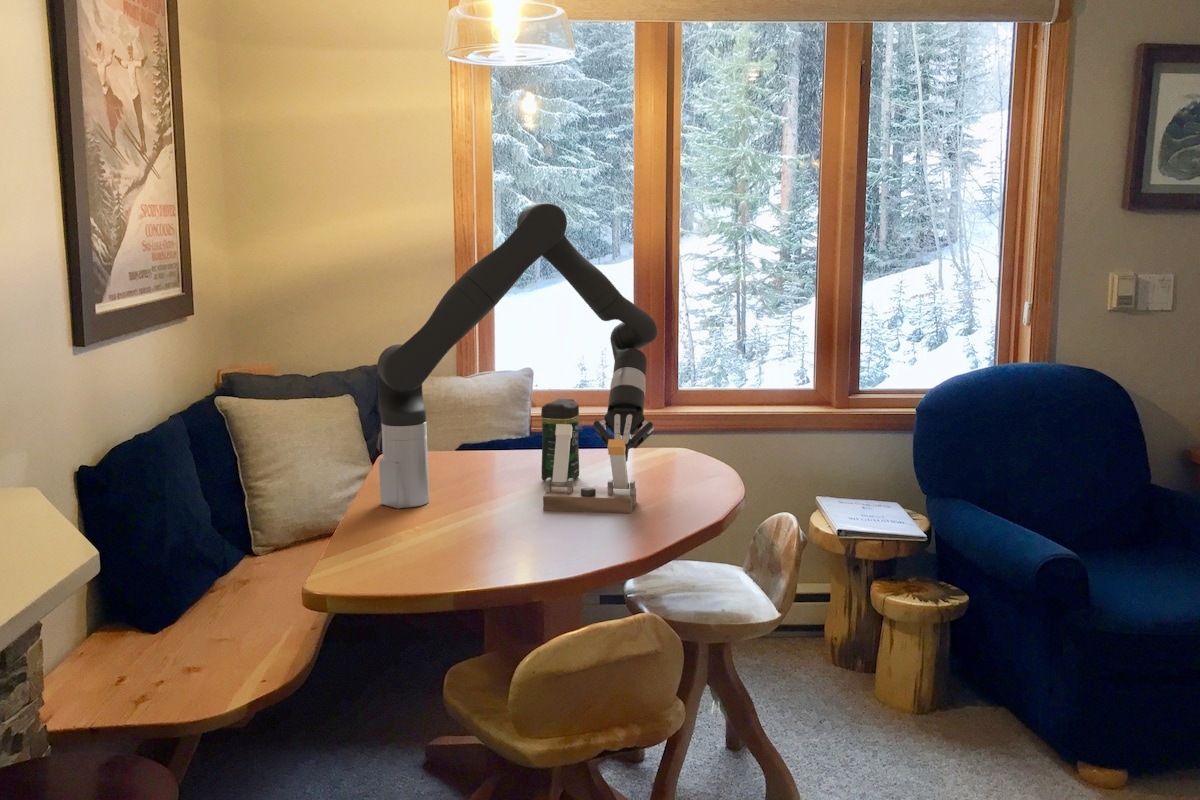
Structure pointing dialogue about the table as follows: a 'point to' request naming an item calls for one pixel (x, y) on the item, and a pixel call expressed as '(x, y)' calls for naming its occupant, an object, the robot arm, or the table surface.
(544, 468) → the coffee jar
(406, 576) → the table surface
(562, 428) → the lever ivory
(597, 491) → the console
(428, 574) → the table surface
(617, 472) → the lever orange
